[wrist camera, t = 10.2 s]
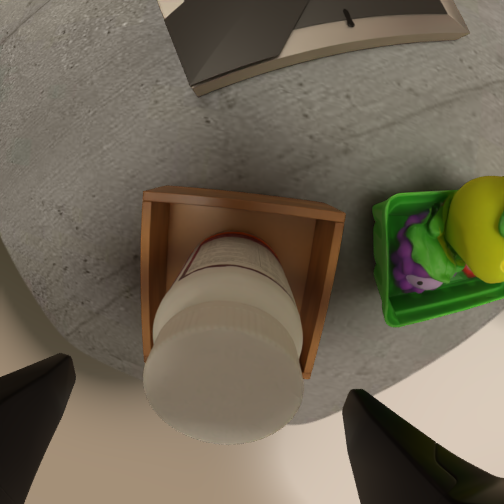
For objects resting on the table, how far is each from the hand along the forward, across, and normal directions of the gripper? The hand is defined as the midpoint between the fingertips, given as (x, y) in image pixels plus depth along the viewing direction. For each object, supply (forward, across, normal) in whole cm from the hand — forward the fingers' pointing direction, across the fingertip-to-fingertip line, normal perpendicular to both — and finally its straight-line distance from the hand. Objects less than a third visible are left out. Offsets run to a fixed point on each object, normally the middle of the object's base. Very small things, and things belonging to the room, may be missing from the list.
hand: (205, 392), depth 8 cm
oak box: (+12, -1, 0) cm, 12 cm away
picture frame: (+12, -3, -22) cm, 26 cm away
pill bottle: (+12, 0, 0) cm, 12 cm away
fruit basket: (+12, -14, -4) cm, 19 cm away
